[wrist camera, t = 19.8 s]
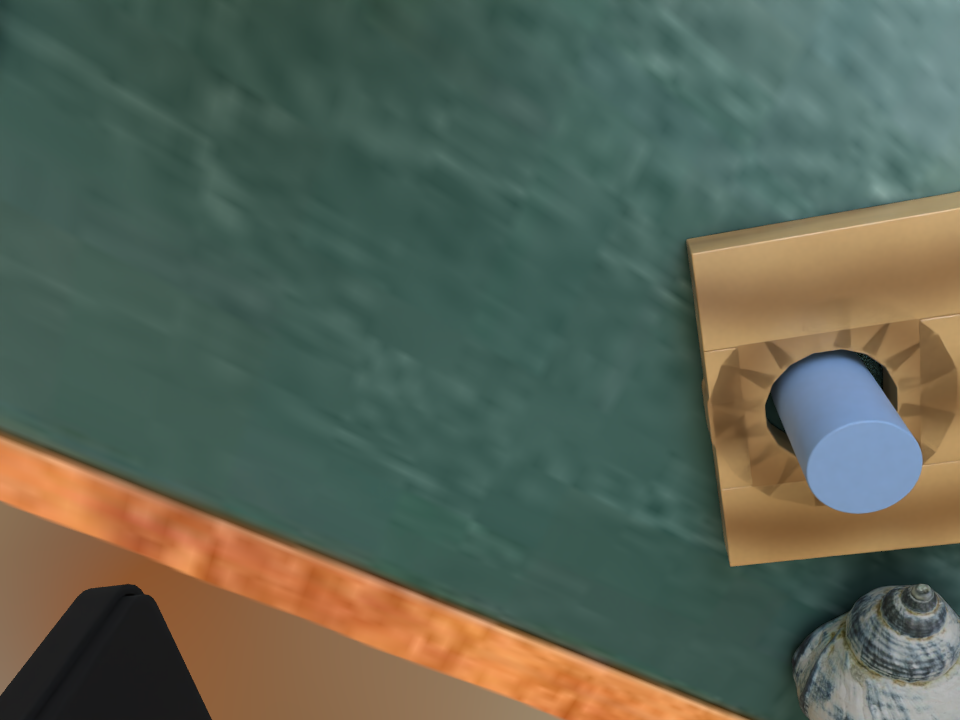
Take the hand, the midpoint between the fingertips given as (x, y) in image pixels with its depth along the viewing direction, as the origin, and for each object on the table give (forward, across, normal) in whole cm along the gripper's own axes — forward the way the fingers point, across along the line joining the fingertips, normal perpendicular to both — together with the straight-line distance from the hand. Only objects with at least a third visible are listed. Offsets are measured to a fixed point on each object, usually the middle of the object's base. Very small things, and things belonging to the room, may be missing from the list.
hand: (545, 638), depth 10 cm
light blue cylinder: (+28, -9, +13) cm, 32 cm away
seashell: (+28, -11, +28) cm, 41 cm away
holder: (+28, -10, +13) cm, 33 cm away
